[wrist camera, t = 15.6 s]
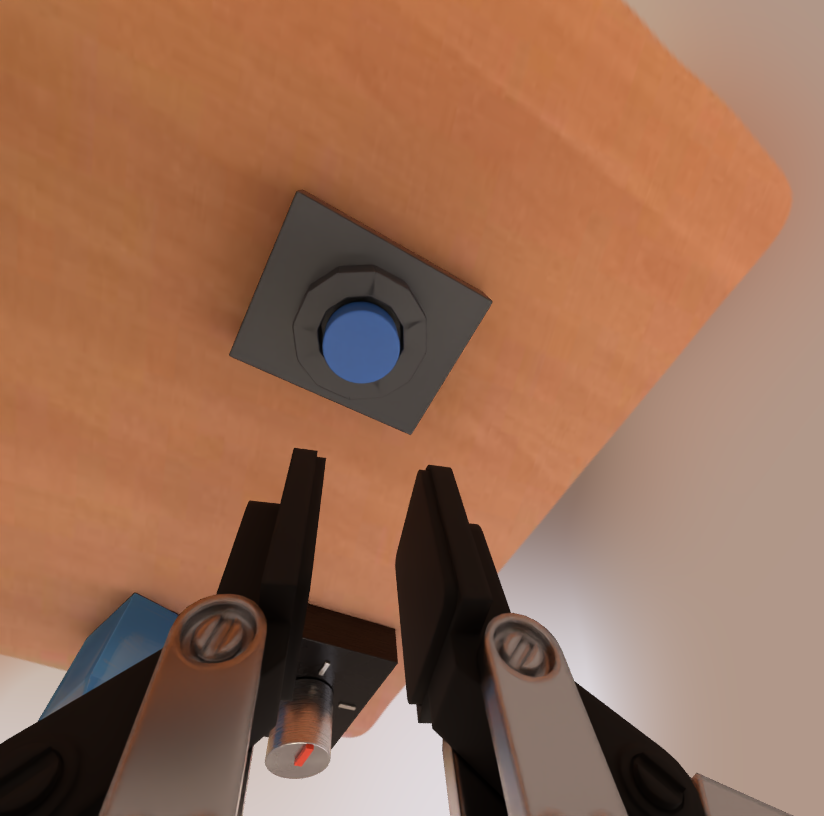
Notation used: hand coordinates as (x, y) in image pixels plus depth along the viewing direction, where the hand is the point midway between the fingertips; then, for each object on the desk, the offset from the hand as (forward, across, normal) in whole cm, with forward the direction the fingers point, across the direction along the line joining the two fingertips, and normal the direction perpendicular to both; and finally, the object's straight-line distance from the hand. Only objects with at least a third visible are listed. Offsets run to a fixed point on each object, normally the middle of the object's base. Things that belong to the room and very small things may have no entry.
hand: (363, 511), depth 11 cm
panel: (+17, 0, +29) cm, 34 cm away
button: (+14, 0, 0) cm, 14 cm away
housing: (+17, 0, 0) cm, 17 cm away
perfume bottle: (+17, +12, +27) cm, 34 cm away
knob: (+14, 0, +29) cm, 33 cm away
